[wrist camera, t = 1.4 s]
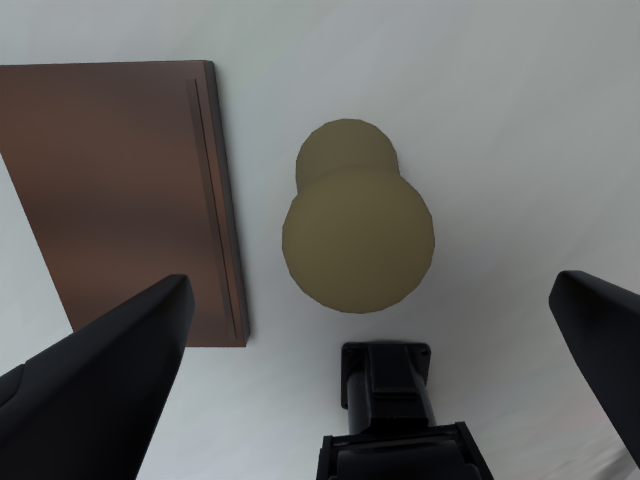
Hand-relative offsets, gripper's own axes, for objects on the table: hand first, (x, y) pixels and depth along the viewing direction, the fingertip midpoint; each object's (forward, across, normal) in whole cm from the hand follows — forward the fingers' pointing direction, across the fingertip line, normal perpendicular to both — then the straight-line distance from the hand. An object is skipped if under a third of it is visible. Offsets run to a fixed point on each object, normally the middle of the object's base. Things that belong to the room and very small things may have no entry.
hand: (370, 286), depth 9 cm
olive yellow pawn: (+13, 0, +2) cm, 13 cm away
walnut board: (+13, +13, +5) cm, 19 cm away
